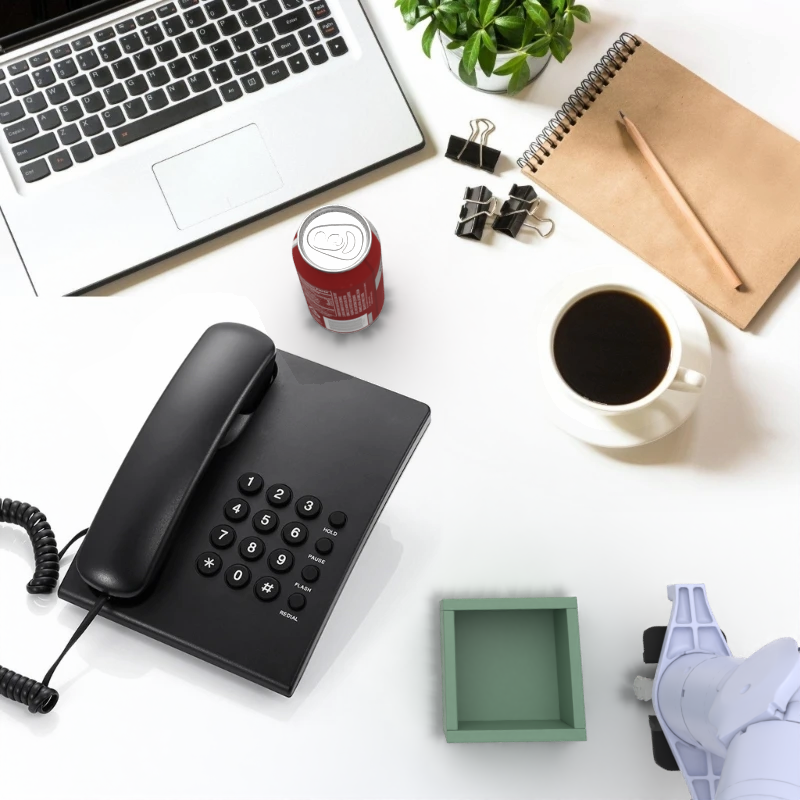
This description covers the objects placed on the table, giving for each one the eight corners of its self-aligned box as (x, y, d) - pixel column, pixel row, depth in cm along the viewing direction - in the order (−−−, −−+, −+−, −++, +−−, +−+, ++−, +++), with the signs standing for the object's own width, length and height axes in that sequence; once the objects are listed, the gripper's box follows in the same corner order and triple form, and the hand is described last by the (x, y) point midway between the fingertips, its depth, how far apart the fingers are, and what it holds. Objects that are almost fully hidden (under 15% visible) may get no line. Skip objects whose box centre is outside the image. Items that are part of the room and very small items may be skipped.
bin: (569, 729, 61) (587, 741, 55) (442, 731, 61) (446, 743, 55) (560, 599, 64) (576, 596, 57) (439, 600, 64) (442, 598, 58)
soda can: (378, 342, 69) (371, 286, 58) (301, 330, 70) (280, 272, 58) (390, 270, 71) (387, 202, 60) (315, 260, 72) (297, 190, 60)
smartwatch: (627, 699, 62) (643, 705, 58) (627, 670, 62) (642, 673, 58) (675, 702, 61) (693, 708, 58) (674, 672, 62) (692, 676, 58)
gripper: (816, 842, 45) (724, 792, 58) (779, 579, 49) (701, 588, 62) (690, 844, 45) (627, 794, 58) (664, 581, 49) (610, 589, 62)
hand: (659, 688), depth 60 cm, fingers open, 4 cm apart
